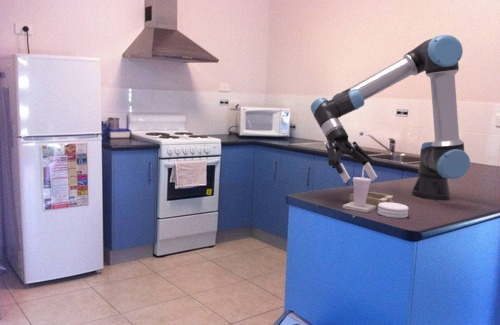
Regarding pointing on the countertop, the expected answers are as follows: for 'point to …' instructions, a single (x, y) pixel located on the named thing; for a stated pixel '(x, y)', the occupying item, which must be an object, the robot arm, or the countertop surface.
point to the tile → (366, 208)
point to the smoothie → (361, 190)
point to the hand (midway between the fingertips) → (361, 179)
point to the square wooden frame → (375, 198)
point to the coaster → (393, 210)
